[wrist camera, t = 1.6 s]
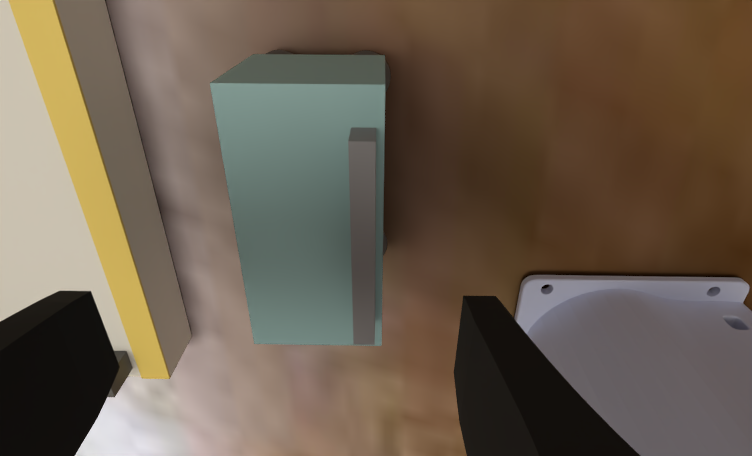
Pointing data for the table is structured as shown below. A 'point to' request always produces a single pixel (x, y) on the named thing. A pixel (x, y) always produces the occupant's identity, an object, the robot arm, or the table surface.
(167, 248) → the dock
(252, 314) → the teal rolling suitcase
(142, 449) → the table surface
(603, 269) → the table surface
